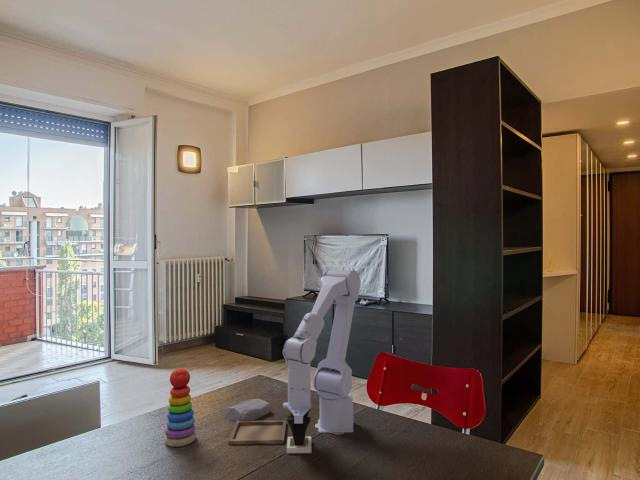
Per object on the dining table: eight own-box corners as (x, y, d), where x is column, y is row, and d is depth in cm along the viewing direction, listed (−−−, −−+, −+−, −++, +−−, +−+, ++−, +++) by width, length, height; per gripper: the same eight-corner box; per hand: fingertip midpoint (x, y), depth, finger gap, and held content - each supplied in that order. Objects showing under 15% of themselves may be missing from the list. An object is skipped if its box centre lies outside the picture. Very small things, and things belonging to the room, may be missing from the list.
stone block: (221, 424, 127) (245, 426, 121) (220, 407, 127) (243, 408, 121) (251, 413, 136) (274, 414, 130) (249, 397, 137) (272, 397, 131)
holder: (311, 442, 111) (311, 436, 111) (311, 454, 105) (311, 447, 105) (287, 442, 111) (287, 436, 111) (286, 454, 105) (286, 447, 105)
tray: (286, 424, 122) (286, 420, 122) (283, 444, 110) (283, 440, 110) (236, 425, 122) (236, 420, 122) (228, 445, 110) (228, 440, 110)
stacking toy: (202, 437, 114) (202, 366, 114) (181, 450, 107) (181, 375, 107) (179, 431, 117) (179, 363, 117) (157, 444, 110) (157, 371, 110)
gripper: (284, 377, 115) (284, 427, 115) (281, 396, 101) (281, 455, 101) (311, 376, 115) (311, 427, 115) (311, 396, 101) (311, 454, 101)
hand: (299, 440), depth 108 cm, fingers open, 4 cm apart
